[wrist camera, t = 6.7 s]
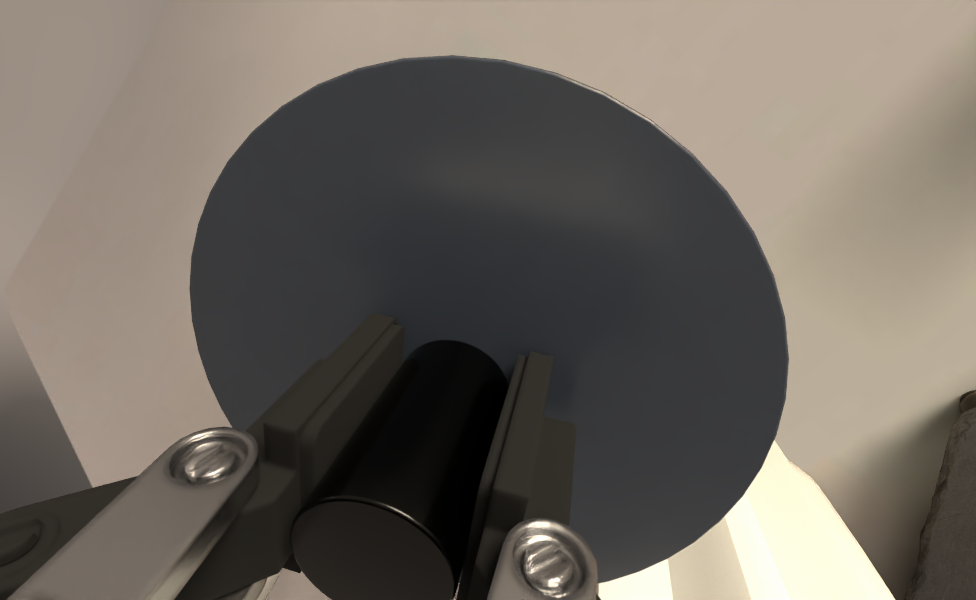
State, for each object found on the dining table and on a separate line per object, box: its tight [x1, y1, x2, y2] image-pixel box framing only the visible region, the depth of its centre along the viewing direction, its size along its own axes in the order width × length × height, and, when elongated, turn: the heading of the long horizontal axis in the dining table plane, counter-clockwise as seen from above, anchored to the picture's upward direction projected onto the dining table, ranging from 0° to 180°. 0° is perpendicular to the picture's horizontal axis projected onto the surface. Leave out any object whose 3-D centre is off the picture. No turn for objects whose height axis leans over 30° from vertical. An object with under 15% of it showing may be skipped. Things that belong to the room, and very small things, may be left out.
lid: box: [190, 55, 789, 600], centre depth 9 cm, size 14×14×6 cm
